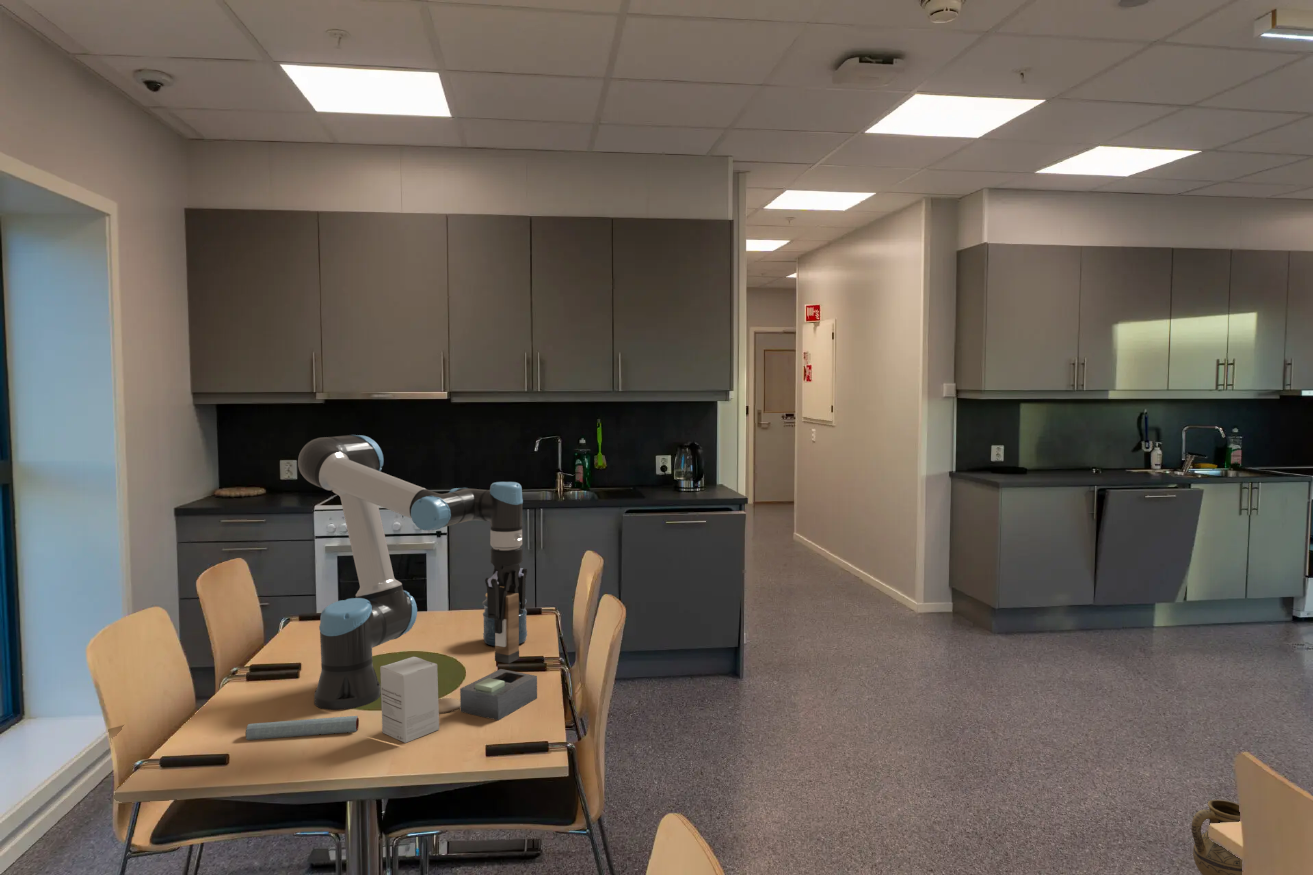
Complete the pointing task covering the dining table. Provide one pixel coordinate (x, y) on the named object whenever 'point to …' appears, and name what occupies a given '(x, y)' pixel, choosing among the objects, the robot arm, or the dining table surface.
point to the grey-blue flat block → (302, 727)
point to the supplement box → (409, 699)
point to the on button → (490, 685)
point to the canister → (489, 628)
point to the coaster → (448, 705)
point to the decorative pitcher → (1209, 857)
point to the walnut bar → (510, 631)
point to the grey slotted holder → (499, 695)
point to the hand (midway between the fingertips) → (507, 642)
